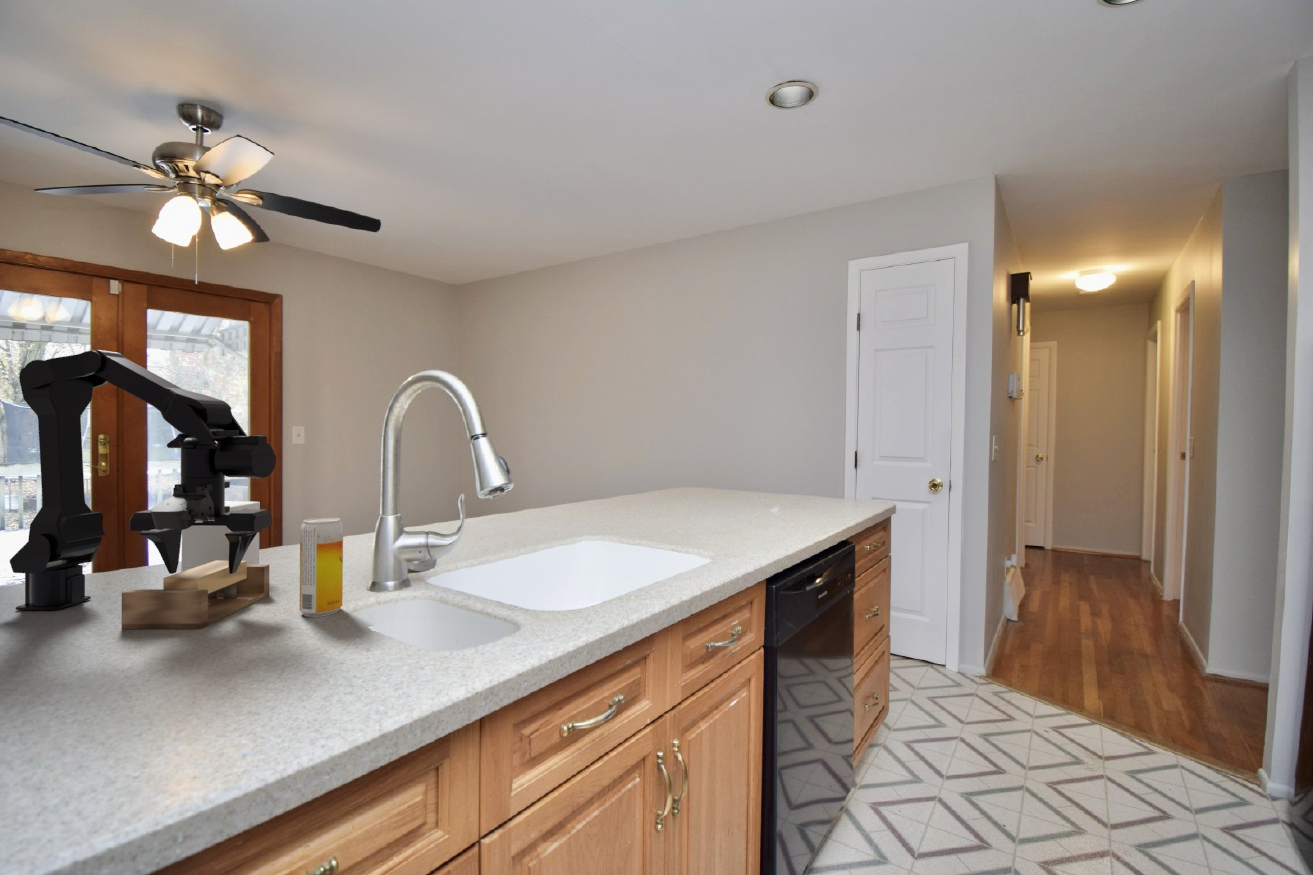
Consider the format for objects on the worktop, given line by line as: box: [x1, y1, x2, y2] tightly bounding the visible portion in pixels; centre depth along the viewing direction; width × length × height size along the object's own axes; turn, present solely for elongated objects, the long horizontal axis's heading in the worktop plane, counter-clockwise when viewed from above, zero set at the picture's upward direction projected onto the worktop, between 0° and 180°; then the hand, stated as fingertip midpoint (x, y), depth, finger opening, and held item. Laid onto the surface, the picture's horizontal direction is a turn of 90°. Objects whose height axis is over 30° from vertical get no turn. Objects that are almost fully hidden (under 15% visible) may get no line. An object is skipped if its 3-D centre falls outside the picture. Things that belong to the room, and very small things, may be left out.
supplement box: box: [180, 500, 261, 572], centre depth 116 cm, size 9×9×15 cm
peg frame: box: [121, 563, 270, 630], centre depth 99 cm, size 11×18×5 cm, turn 4°
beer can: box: [299, 516, 344, 618], centre depth 99 cm, size 6×6×15 cm
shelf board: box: [162, 560, 247, 594], centre depth 98 cm, size 5×12×3 cm, turn 3°
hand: (202, 573), depth 99 cm, fingers open, 9 cm apart
